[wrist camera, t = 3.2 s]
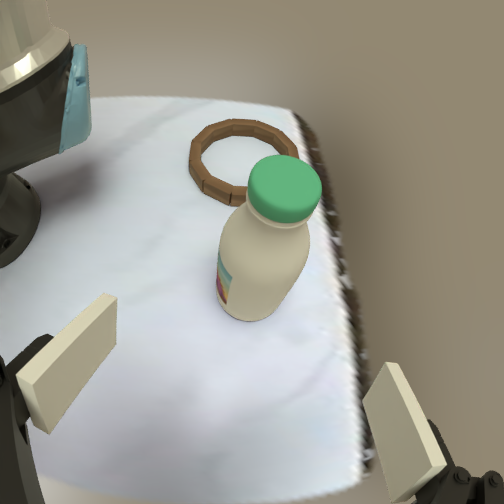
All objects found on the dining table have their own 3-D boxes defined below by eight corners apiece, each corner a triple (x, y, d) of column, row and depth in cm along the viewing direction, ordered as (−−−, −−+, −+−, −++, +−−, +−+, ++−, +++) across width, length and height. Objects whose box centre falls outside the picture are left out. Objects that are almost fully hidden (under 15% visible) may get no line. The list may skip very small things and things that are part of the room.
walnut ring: (186, 205, 40) (185, 193, 38) (194, 128, 47) (194, 117, 45) (302, 209, 42) (306, 198, 40) (288, 134, 49) (291, 123, 47)
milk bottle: (291, 279, 37) (358, 169, 19) (263, 334, 33) (324, 257, 16) (235, 250, 38) (258, 122, 20) (203, 302, 34) (198, 194, 17)
